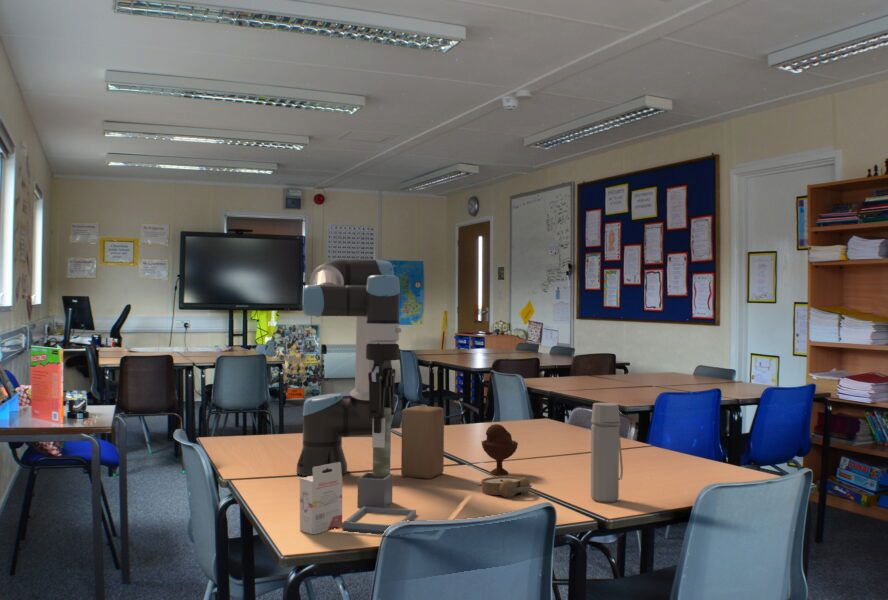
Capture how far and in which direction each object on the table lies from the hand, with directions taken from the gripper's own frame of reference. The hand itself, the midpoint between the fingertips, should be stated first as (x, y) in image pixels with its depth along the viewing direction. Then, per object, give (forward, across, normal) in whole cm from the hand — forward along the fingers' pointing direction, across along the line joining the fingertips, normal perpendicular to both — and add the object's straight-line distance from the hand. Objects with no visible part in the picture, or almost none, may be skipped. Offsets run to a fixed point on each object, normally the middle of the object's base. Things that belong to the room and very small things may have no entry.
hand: (381, 445), depth 167 cm
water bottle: (+18, +37, -50) cm, 65 cm away
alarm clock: (+18, +38, -24) cm, 48 cm away
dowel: (+7, 0, 0) cm, 7 cm away
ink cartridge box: (+18, -6, +12) cm, 23 cm away
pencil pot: (+18, +13, +6) cm, 23 cm away
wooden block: (+18, +53, +4) cm, 56 cm away
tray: (+18, 0, 0) cm, 18 cm away
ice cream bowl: (+18, +61, -18) cm, 66 cm away
